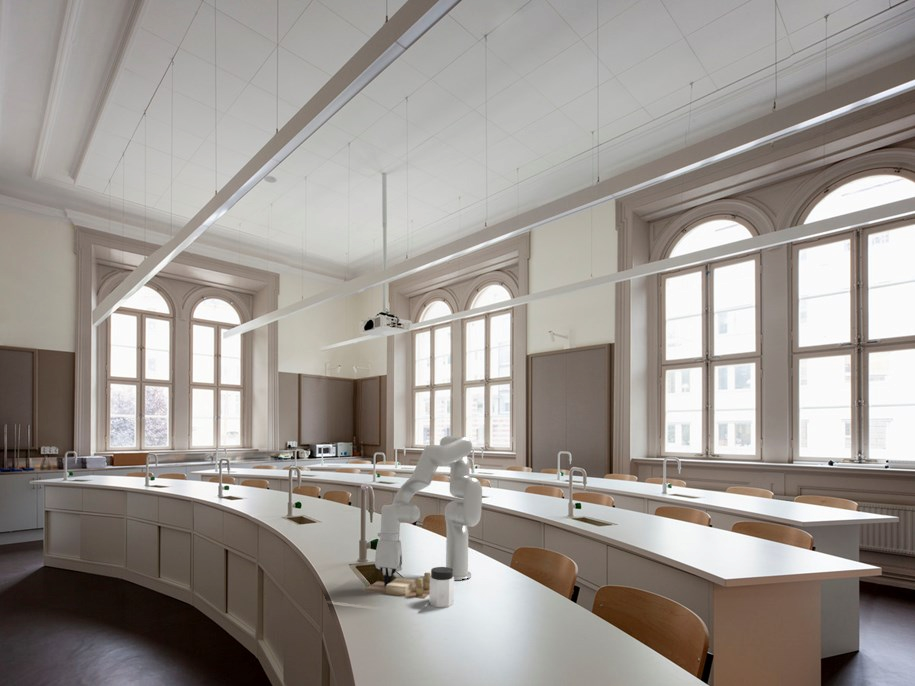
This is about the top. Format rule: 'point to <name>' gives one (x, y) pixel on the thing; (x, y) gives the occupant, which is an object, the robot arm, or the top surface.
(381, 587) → the board
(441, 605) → the jar
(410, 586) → the cream rectangular slab
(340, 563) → the top surface
